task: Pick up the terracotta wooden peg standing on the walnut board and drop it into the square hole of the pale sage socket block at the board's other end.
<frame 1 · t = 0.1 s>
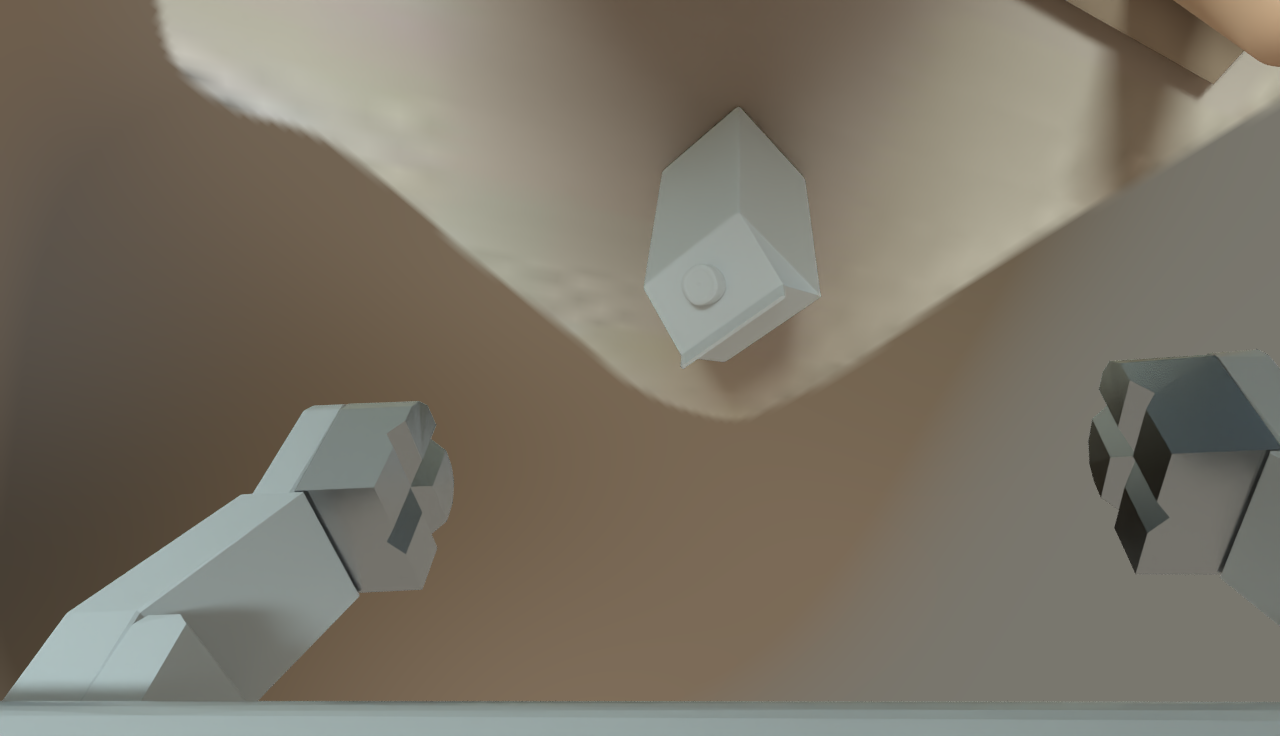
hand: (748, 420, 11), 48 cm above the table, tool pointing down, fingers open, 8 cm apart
milk carton: (733, 173, 60), on the table
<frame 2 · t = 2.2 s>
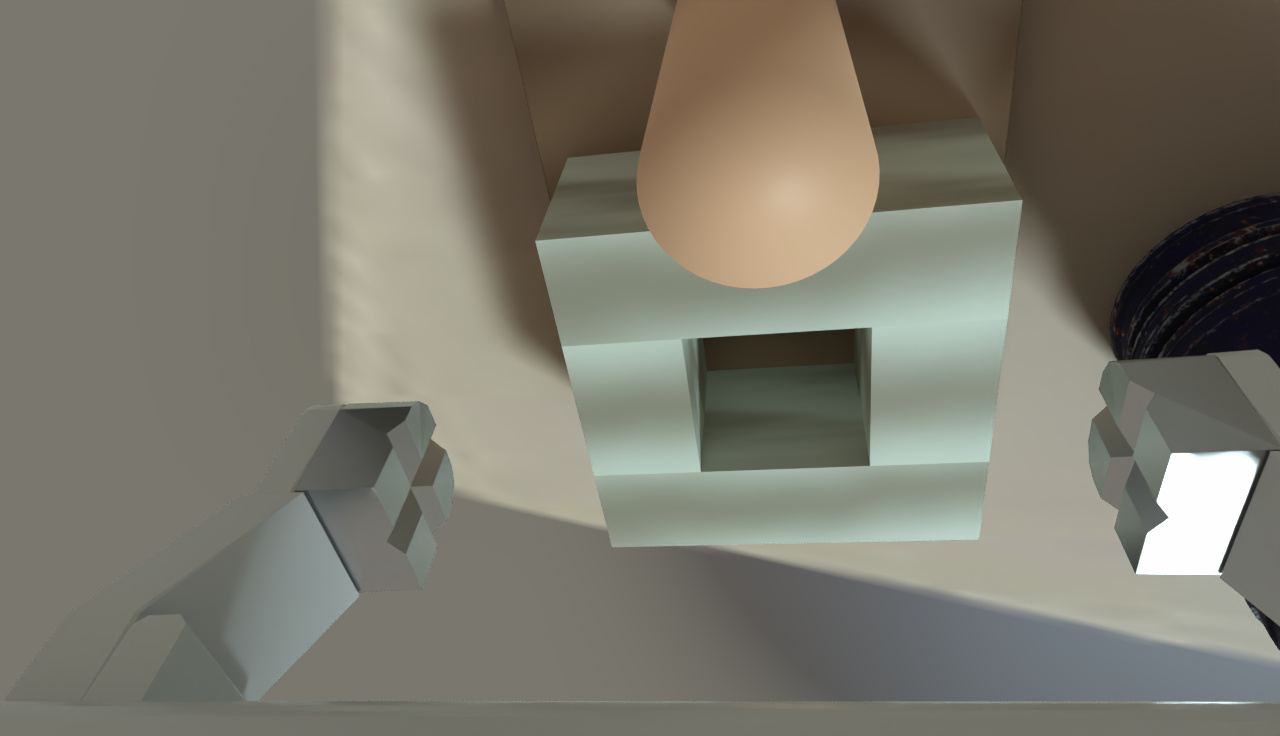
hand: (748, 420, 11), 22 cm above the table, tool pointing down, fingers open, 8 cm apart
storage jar: (1242, 302, 34), on the table
socket board: (767, 172, 32), on the table
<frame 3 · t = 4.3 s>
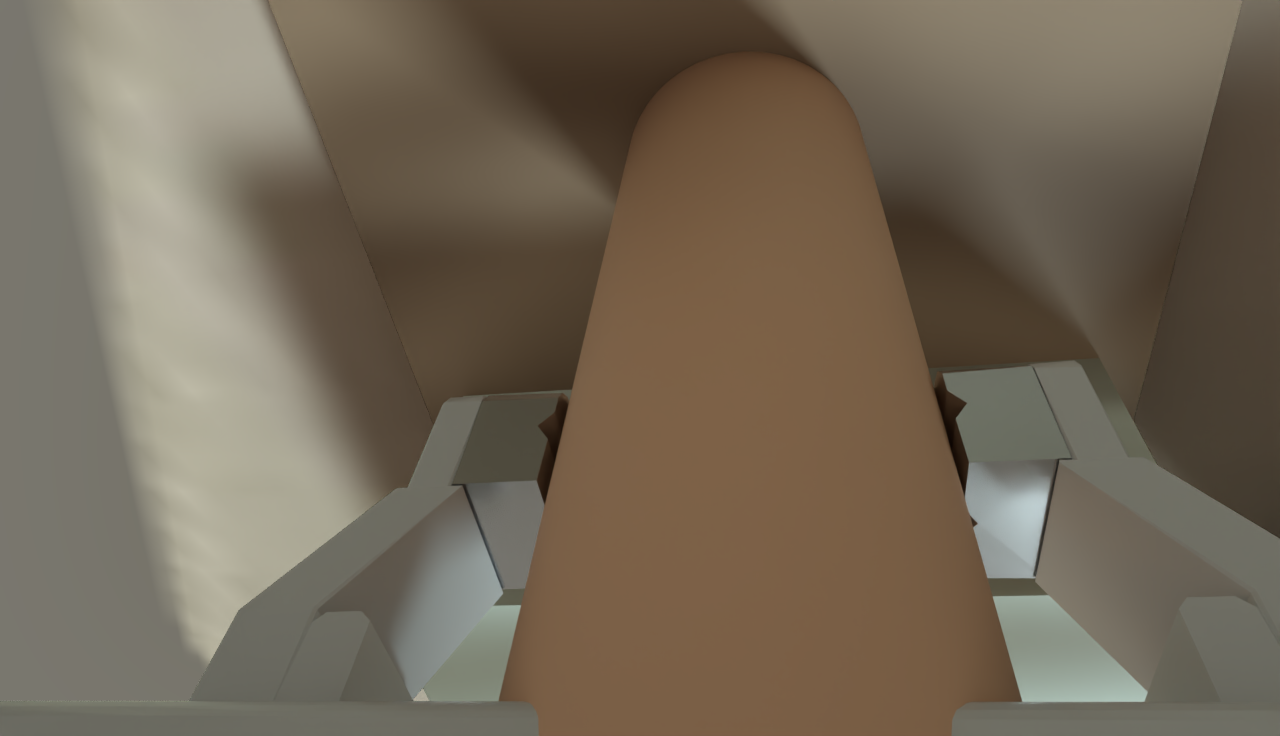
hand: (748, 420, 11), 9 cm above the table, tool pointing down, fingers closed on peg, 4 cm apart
peg: (744, 170, 16), point 2 cm above the table, touching gripper, socket board
socket board: (766, 403, 22), on the table
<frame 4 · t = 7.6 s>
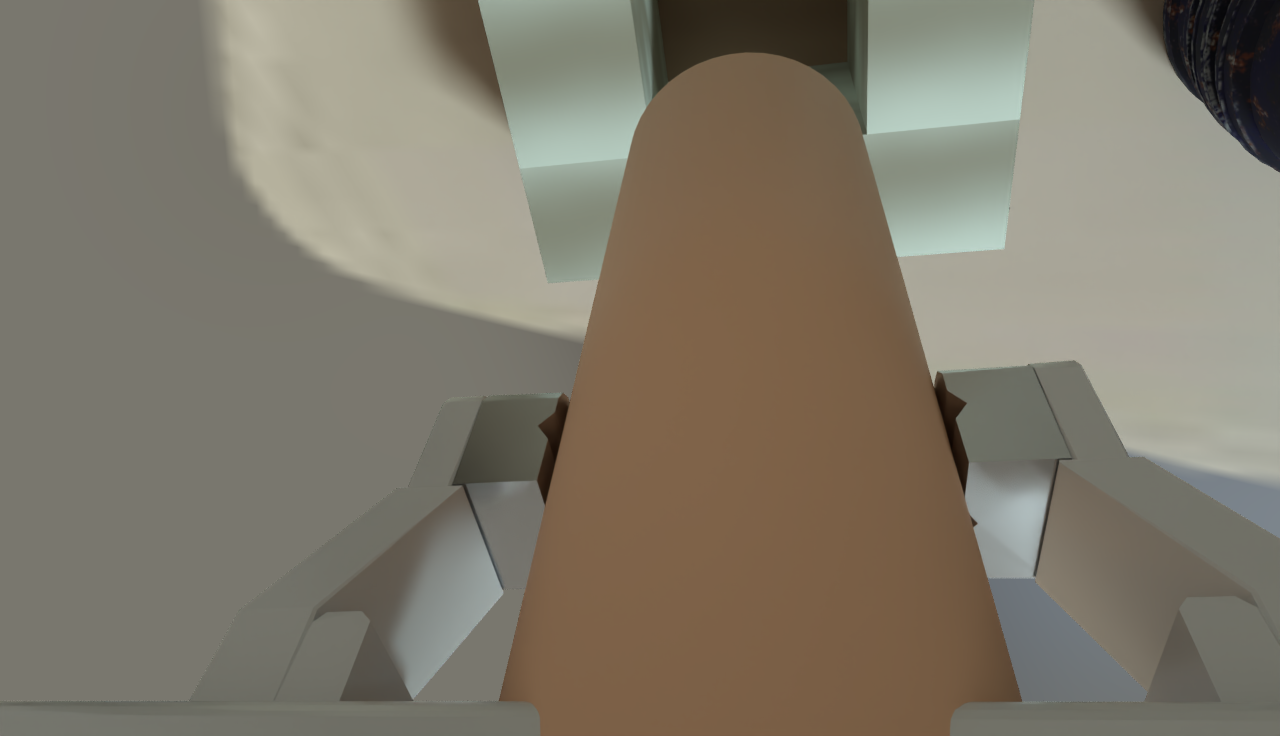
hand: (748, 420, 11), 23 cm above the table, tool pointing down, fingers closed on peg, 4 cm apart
peg: (745, 171, 16), point 16 cm above the table, touching gripper
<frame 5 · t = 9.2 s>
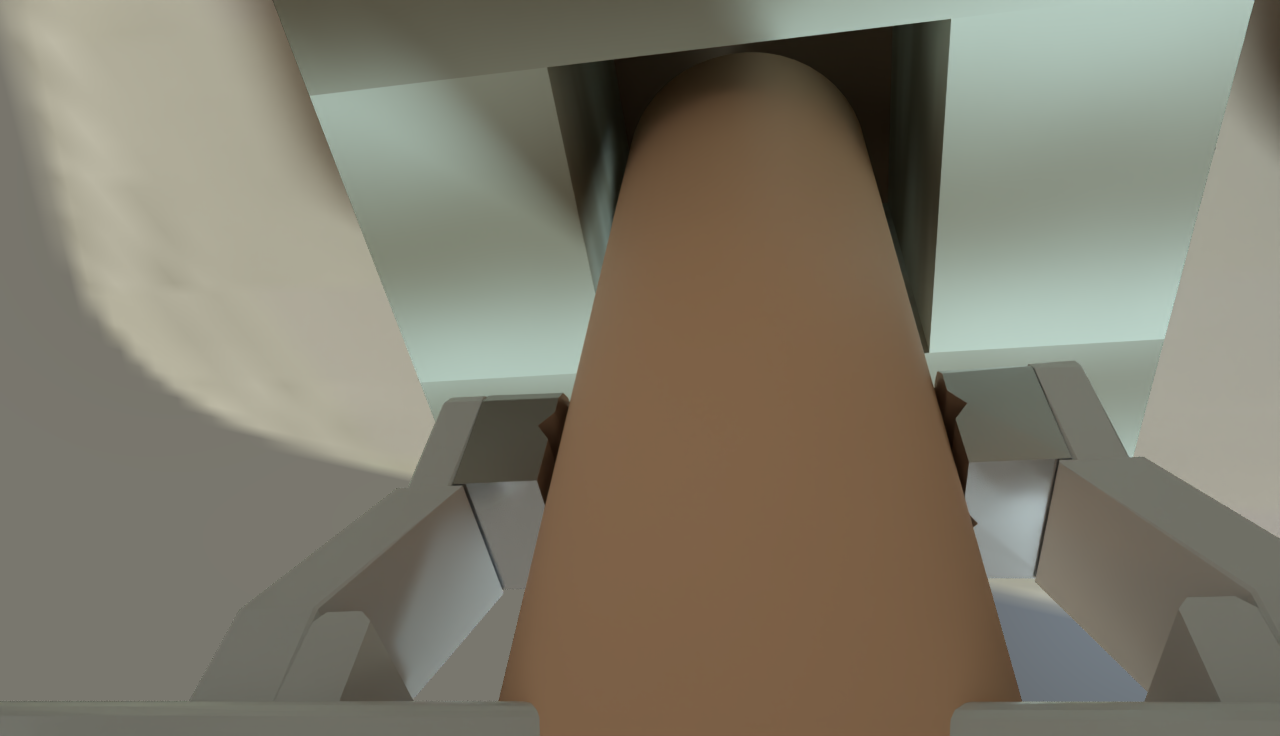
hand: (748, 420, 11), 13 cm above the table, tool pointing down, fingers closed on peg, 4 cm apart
peg: (745, 170, 16), point 6 cm above the table, touching gripper
when the fingers open (10 cm above the table, at t = 10.8 s): peg drops 1 cm, resting on socket board.
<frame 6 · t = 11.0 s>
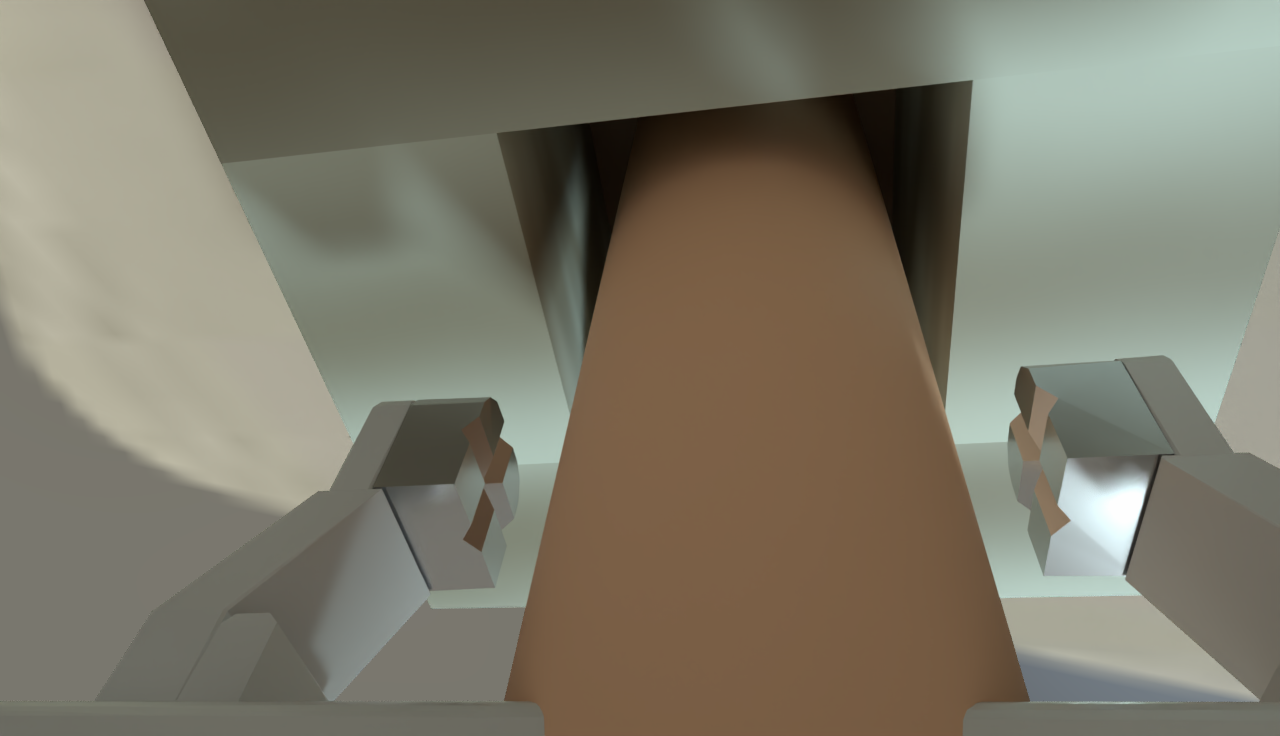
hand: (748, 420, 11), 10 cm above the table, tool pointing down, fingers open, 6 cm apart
peg: (746, 138, 17), point 1 cm above the table, touching socket board
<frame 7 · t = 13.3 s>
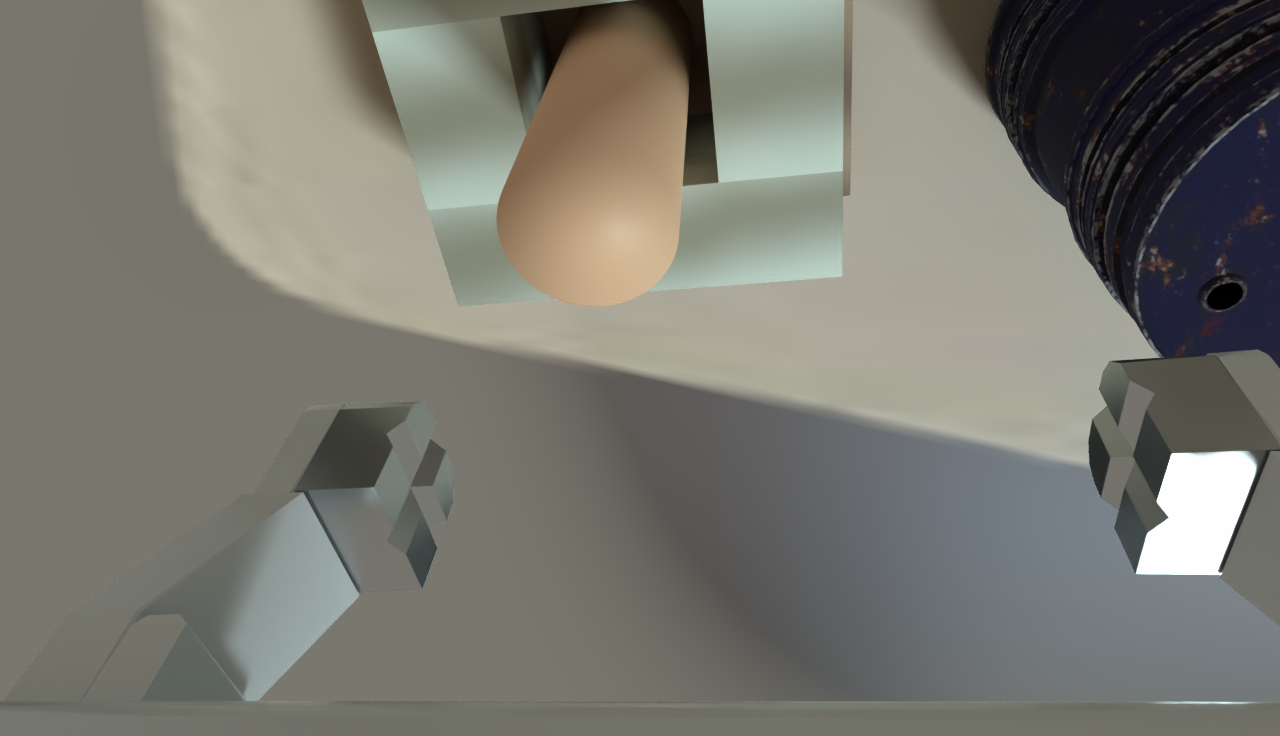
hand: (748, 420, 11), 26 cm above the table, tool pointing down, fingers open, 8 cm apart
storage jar: (1119, 37, 32), on the table
peg: (632, 42, 32), point 2 cm above the table, touching socket board
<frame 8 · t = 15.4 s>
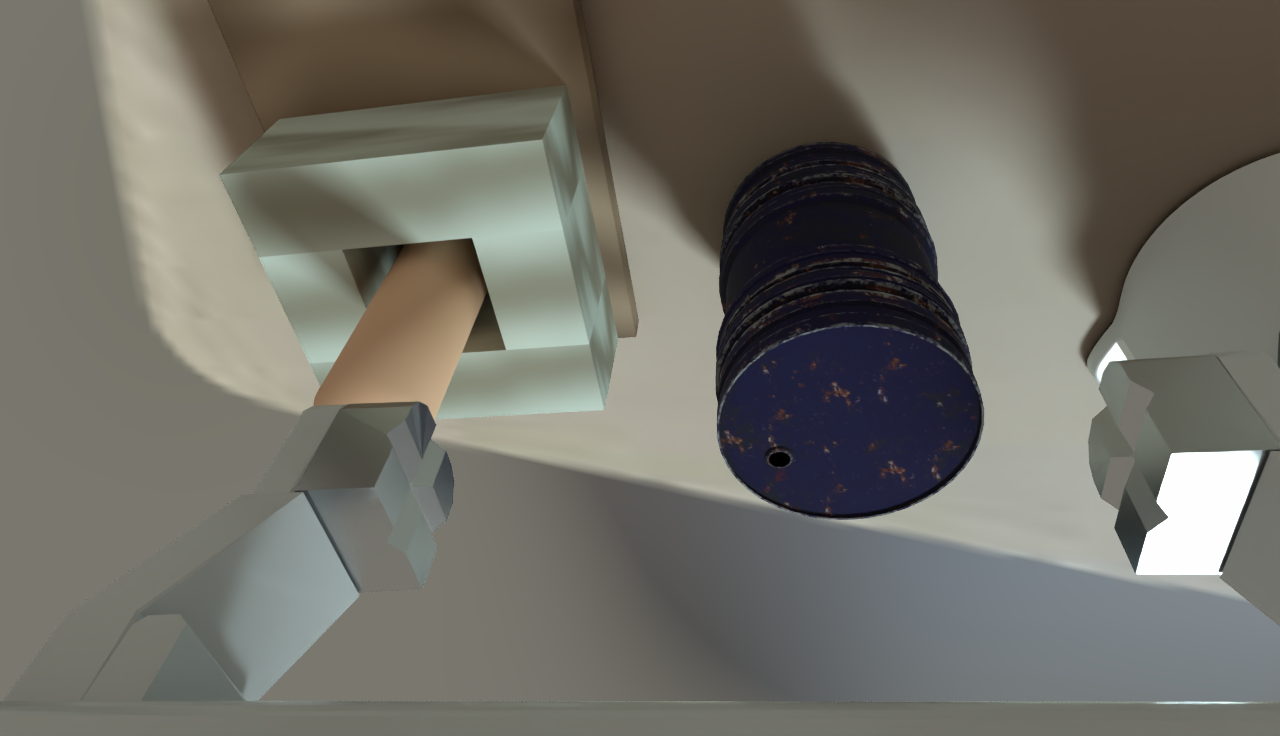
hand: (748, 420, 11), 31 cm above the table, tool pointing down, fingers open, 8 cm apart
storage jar: (818, 230, 44), on the table
peg: (462, 236, 44), point 2 cm above the table, touching socket board
socket board: (440, 130, 42), on the table
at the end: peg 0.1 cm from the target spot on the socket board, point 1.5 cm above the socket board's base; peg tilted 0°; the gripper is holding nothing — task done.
